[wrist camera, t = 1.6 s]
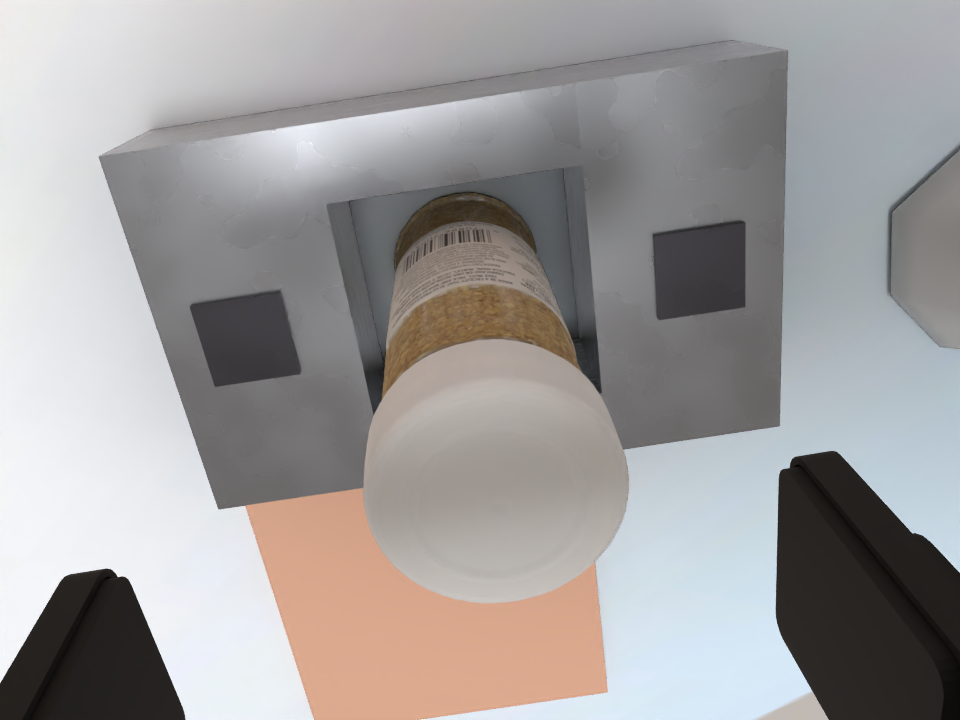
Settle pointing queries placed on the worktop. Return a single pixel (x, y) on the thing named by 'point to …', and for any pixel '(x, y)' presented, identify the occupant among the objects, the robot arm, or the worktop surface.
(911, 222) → the flask
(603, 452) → the sprinkles bottle
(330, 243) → the socket bar
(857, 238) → the worktop surface
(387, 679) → the coaster
